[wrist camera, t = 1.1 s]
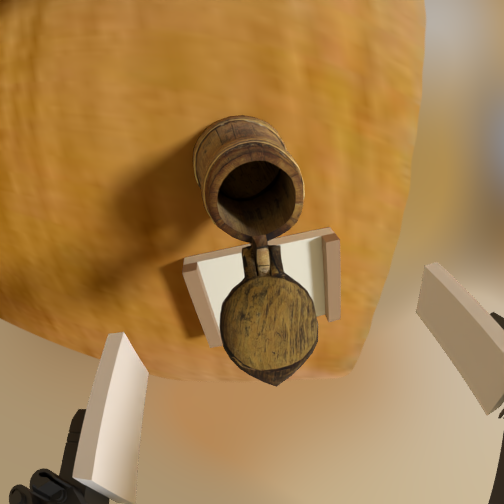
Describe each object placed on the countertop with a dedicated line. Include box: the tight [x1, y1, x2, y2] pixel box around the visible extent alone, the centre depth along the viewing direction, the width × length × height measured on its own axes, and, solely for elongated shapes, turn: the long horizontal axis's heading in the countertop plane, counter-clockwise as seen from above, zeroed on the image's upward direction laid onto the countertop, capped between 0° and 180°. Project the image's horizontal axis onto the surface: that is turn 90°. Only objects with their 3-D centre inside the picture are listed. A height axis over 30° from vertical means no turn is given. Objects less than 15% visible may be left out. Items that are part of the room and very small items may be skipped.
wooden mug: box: [193, 115, 318, 386], centre depth 21 cm, size 9×14×18 cm, turn 3°
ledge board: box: [182, 227, 341, 348], centre depth 34 cm, size 11×16×3 cm
